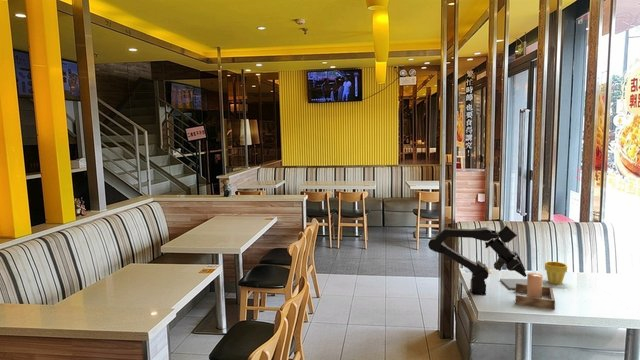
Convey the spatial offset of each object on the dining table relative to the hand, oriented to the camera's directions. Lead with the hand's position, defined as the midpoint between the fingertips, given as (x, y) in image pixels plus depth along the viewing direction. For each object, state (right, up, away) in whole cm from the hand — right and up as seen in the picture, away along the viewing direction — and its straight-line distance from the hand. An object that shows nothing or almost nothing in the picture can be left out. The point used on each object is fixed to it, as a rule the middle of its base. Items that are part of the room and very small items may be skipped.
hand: (525, 273), depth 205 cm
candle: (+4, -12, -1) cm, 13 cm away
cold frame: (+4, -12, -1) cm, 13 cm away
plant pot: (+27, -10, +23) cm, 37 cm away
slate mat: (+6, -10, +19) cm, 23 cm away
